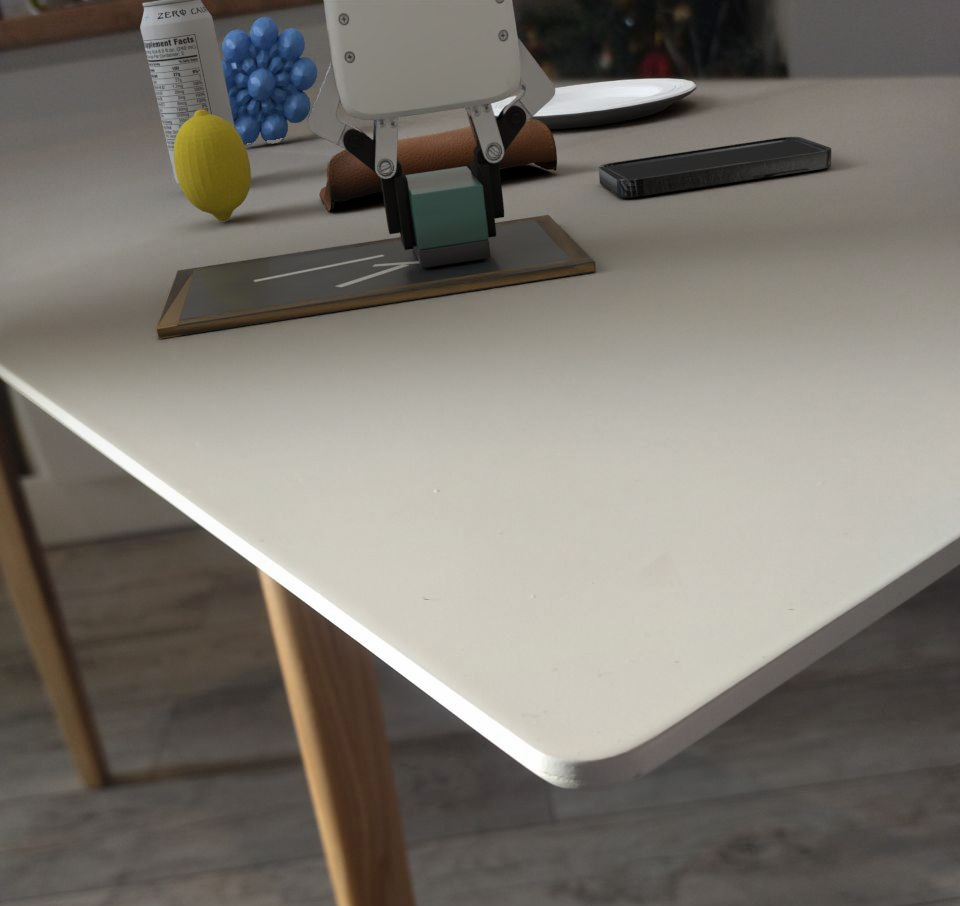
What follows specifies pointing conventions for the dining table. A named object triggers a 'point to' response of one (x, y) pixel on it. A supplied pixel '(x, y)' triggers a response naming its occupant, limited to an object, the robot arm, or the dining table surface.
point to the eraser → (448, 217)
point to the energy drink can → (183, 64)
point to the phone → (713, 166)
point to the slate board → (360, 278)
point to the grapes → (266, 79)
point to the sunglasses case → (435, 159)
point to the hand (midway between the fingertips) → (447, 235)
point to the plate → (607, 102)
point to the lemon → (212, 164)
